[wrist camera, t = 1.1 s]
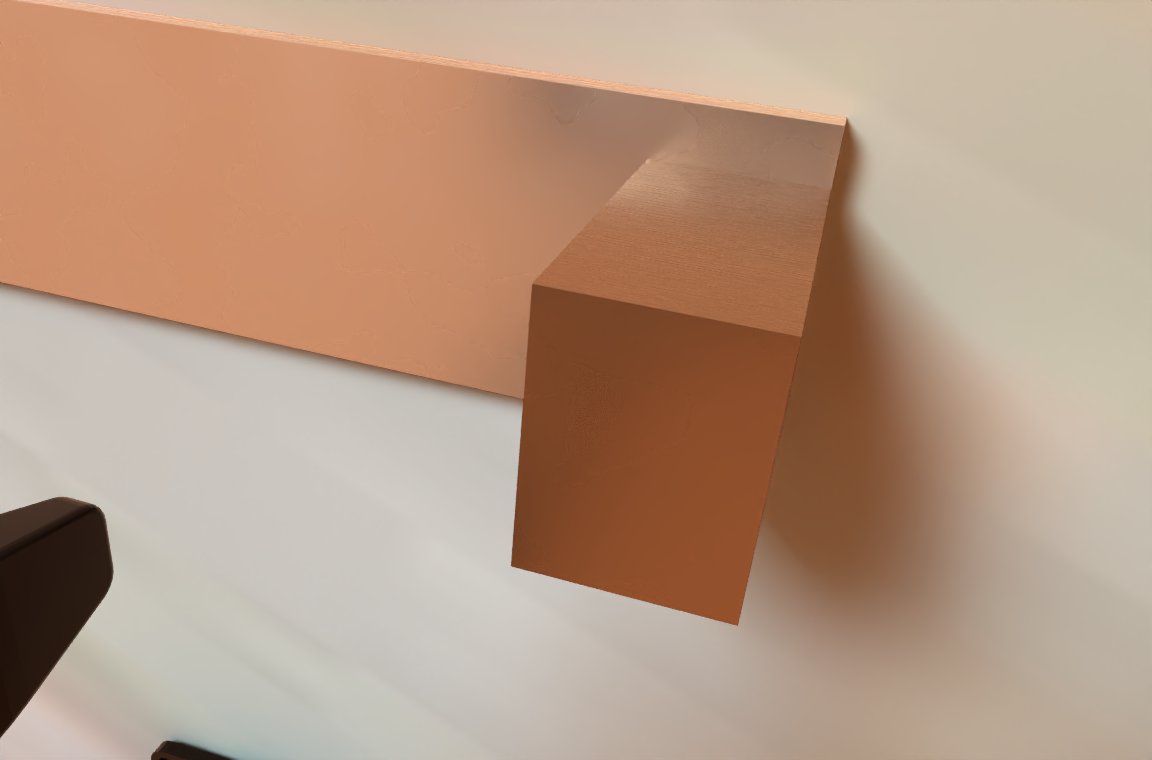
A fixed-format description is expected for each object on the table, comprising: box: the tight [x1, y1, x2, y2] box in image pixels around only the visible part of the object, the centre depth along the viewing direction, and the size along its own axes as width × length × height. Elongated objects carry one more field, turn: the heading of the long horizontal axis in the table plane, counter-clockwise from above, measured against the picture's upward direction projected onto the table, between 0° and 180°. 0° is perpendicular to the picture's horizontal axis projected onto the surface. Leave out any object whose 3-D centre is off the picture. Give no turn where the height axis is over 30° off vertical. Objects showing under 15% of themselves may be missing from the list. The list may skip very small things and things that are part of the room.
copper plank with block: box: [0, 0, 847, 626], centre depth 17 cm, size 26×6×7 cm, turn 85°
